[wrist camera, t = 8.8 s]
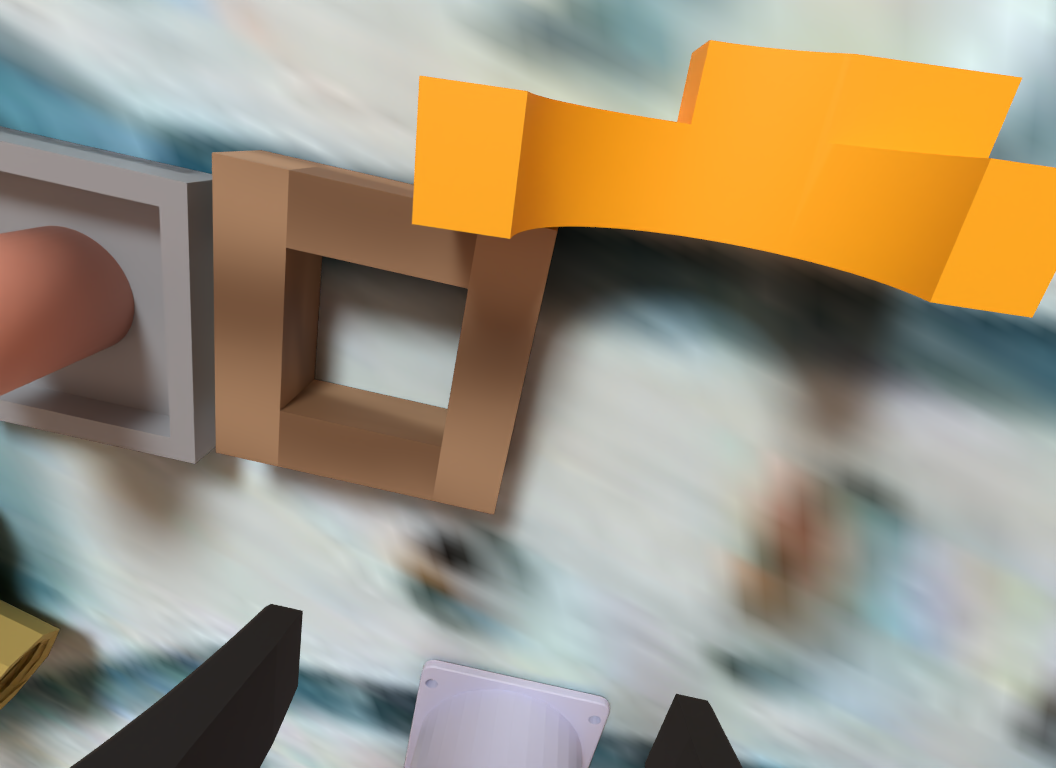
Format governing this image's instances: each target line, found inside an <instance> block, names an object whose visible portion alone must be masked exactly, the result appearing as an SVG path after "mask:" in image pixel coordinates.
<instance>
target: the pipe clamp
mask: <svg viewBox="0 0 1056 768" xmlns="http://www.w3.org/2000/svg"><path fill="white" fill-rule="evenodd" d="M1021 79H1022V78H1021V77H1014V76H1007V75H1000V74H992V73H985V72H978V71H971V70H964V69H957V68H950V67H943V66H936V65H929V64H922V63H915V62H908V61H901V60H894V59H887V58H880V57H872V56H865V55H858V54H843V53H824V52H809V51H796V50H785V49H774V48H765V47H756V46H748V45H740V44H733V43H726V42H719V41H712V40H709V41H708V42H707V43H705V44H704V45H702V46H701V47H700V48H698V49H697V50H696V51H694V52H693V53H692V56H691V60H690V65H689V70H688V74H687V79H686V84H685V88H684V93H683V97H682V102H681V107H680V111H679V116H678V121H677V122H673V121H667V120H660V119H654V118H648V117H642V116H636V115H630V114H624V113H618V112H613V111H607V110H601V109H596V108H591V107H586V106H581V105H576V104H571V103H566V102H561V101H557V100H553V99H549V98H545V97H541V96H538V95H535V94H532V93H530V92H528V91H522V90H515V89H509V88H502V87H495V86H488V85H481V84H474V83H467V82H460V81H453V80H446V79H440V78H433V77H426V76H420V77H419V96H418V115H417V135H416V154H415V173H414V193H413V212H412V224H415V225H422V226H428V227H435V228H442V229H448V230H455V231H462V232H468V233H475V234H481V235H488V236H495V237H501V238H508V239H510V238H511V237H512V236H514V235H515V234H517V233H519V232H523V231H526V230H531V229H536V228H545V227H564V226H580V227H604V228H618V229H629V230H639V231H648V232H656V233H664V234H672V235H679V236H685V237H692V238H698V239H704V240H710V241H716V242H721V243H727V244H732V245H737V246H743V247H748V248H752V249H757V250H762V251H767V252H771V253H776V254H780V255H784V256H789V257H793V258H797V259H801V260H805V261H809V262H813V263H817V264H821V265H824V266H828V267H832V268H835V269H839V270H842V271H846V272H849V273H853V274H856V275H859V276H862V277H865V278H869V279H872V280H875V281H878V282H880V283H883V284H886V285H889V286H892V287H895V288H897V289H900V290H903V291H905V292H908V293H910V294H913V295H915V296H917V297H920V298H922V299H924V300H926V301H928V302H932V303H939V304H945V305H952V306H959V307H965V308H972V309H978V310H985V311H992V312H998V313H1005V314H1012V315H1018V316H1025V317H1031V318H1032V317H1033V315H1034V313H1035V311H1036V309H1037V307H1038V305H1039V303H1040V301H1041V299H1042V297H1043V295H1044V293H1045V291H1046V289H1047V287H1048V285H1049V283H1050V281H1051V279H1052V277H1053V275H1054V273H1055V271H1056V168H1053V167H1046V166H1040V165H1033V164H1026V163H1019V162H1012V161H1005V160H998V159H991V158H988V157H989V155H990V153H991V150H992V148H993V146H994V143H995V141H996V138H997V136H998V134H999V131H1000V129H1001V127H1002V124H1003V122H1004V120H1005V117H1006V115H1007V112H1008V110H1009V108H1010V105H1011V103H1012V101H1013V98H1014V96H1015V94H1016V91H1017V89H1018V86H1019V84H1020V82H1021Z"/></svg>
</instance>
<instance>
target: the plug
mask: <svg viewBox="0 0 1056 768" xmlns="http://www.w3.org/2000/svg"><path fill="white" fill-rule="evenodd" d="M133 317H134V299H133V294H132V290H131V287H130V284H129V282H128V280H127V278H126V276H125V274H124V272H123V270H122V269H121V267H120V266H119V264H118V263H117V262H116V260H115V259H114V258H113V257H112V256H111V254H110V253H109V252H108V251H107V250H106V249H104V248H103V247H102V246H101V245H100V244H99V243H97V242H96V241H94V240H93V239H92V238H90V237H88V236H86V235H85V234H83V233H80V232H78V231H76V230H73V229H70V228H66V227H61V226H42V227H36V228H30V229H24V230H18V231H12V232H7V233H1V234H0V396H1V395H4V394H6V393H8V392H10V391H13V390H15V389H17V388H19V387H21V386H24V385H26V384H28V383H30V382H33V381H35V380H37V379H39V378H42V377H44V376H46V375H48V374H50V373H53V372H55V371H57V370H59V369H62V368H64V367H66V366H68V365H71V364H73V363H75V362H77V361H79V360H82V359H84V358H86V357H88V356H91V355H93V354H95V353H97V352H99V351H102V350H104V349H106V348H108V347H111V346H113V345H115V344H116V343H118V342H119V341H120V340H122V339H123V338H124V337H125V335H126V334H127V333H128V331H129V329H130V327H131V325H132V322H133Z"/></svg>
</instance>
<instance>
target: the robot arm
mask: <svg viewBox="0 0 1056 768" xmlns="http://www.w3.org/2000/svg"><path fill="white" fill-rule="evenodd" d="M302 614H303V611H301V610H296V609H292V608H287V607H283V606H278V605H274V604H270V605H268V606H266V607H265V608H264V609H263V610H262V611H260V612H259V613H258V614H257V615H256V616H255V617H254V618H253V619H252V620H251V621H250V622H249V623H248V624H247V625H245V626H244V627H243V628H242V629H241V630H240V631H239V632H238V633H237V634H236V635H235V636H233V637H232V638H231V639H230V640H229V641H228V642H227V643H226V644H225V645H223V646H222V647H221V648H220V649H219V650H218V651H217V652H215V653H214V654H213V655H212V656H211V657H210V658H209V659H207V660H206V661H205V662H204V663H203V664H202V665H201V666H199V667H198V668H197V669H196V670H195V671H193V672H192V673H191V674H190V675H189V676H187V677H186V678H185V679H184V680H183V681H181V682H180V683H179V684H178V685H177V686H175V687H174V688H173V689H172V690H171V691H170V692H168V693H167V694H166V695H165V696H164V697H162V698H161V699H160V700H159V701H157V702H156V703H155V704H154V705H152V706H151V707H150V708H148V709H147V710H146V711H145V712H143V713H142V714H141V715H139V716H138V717H137V718H136V719H134V720H133V721H132V722H130V723H129V724H128V725H126V726H125V727H124V728H123V729H121V730H120V731H119V732H117V733H116V734H115V735H114V736H112V737H111V738H110V739H108V740H107V741H106V742H104V743H103V744H102V745H100V746H99V747H98V748H96V749H95V750H94V751H92V752H91V753H89V754H88V755H87V756H85V757H84V758H83V759H81V760H80V761H78V762H77V763H76V764H74V765H73V766H71V767H70V768H260V766H261V764H262V763H263V761H264V759H265V757H266V755H267V753H268V752H269V750H270V748H271V746H272V744H273V742H274V740H275V737H276V735H277V733H278V731H279V728H280V726H281V724H282V722H283V719H284V717H285V715H286V713H287V710H288V708H289V705H290V703H291V701H292V698H293V696H294V694H295V691H296V689H297V687H298V674H299V659H300V644H301V629H302ZM431 679H433V680H431ZM609 711H610V709H609V702H608V700H606V699H605V698H603V697H601V696H597V695H592V694H588V693H583V692H579V691H574V690H570V689H565V688H561V687H556V686H552V685H547V684H543V683H538V682H534V681H529V680H525V679H520V678H516V677H511V676H507V675H502V674H498V673H493V672H489V671H484V670H479V669H475V668H470V667H466V666H461V665H457V664H452V663H448V662H443V661H439V660H430V661H427V662H426V663H425V664H424V666H423V670H422V674H421V679H420V684H419V690H418V695H417V700H416V706H415V711H414V716H413V722H412V727H411V732H410V738H409V743H408V748H407V754H406V759H405V764H404V768H588V767H589V764H590V762H591V759H592V757H593V754H594V752H595V749H596V746H597V744H598V741H599V739H600V736H601V734H602V731H603V728H604V726H605V723H606V721H607V718H608V715H609ZM645 768H742V766H741V764H740V762H739V760H738V758H737V756H736V754H735V752H734V750H733V748H732V746H731V744H730V742H729V740H728V739H727V737H726V735H725V733H724V731H723V729H722V727H721V725H720V723H719V721H718V719H717V717H716V715H715V713H714V711H713V709H712V707H711V705H710V704H709V702H708V701H707V700H702V699H698V698H693V697H689V696H684V695H679V694H676V695H675V697H674V700H673V702H672V704H671V706H670V709H669V711H668V713H667V715H666V717H665V720H664V722H663V724H662V726H661V729H660V731H659V733H658V735H657V738H656V740H655V742H654V744H653V747H652V749H651V751H650V753H649V755H648V758H647V760H646V762H645Z"/></svg>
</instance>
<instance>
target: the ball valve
mask: <svg viewBox="0 0 1056 768" xmlns="http://www.w3.org/2000/svg"><path fill="white" fill-rule="evenodd" d="M59 630H60V629H59V628H56V627H54V626H52V625H50V624H48V623H46V622H44V621H42V620H40V619H38V618H36V617H34V616H32V615H30V614H28V613H26V612H24V611H22V610H20V609H18V608H16V607H14V606H12V605H10V604H8V603H6V602H4V601H2V600H0V710H1V709H2V708H3V707H4V706H5V705H6V704H7V703H8V702H9V701H10V700H11V699H12V698H13V697H14V696H15V695H16V694H17V692H18V691H19V690H20V689H21V688H22V686H23V685H24V684H25V683H26V682H27V680H28V679H29V678H30V677H31V676H32V675H33V673H34V672H35V671H36V670H37V669H38V667H39V666H40V665H41V664H42V663H43V661H44V660H45V659H46V658H47V657H48V655H49V653H50V650H51V648H52V646H53V644H54V642H55V639H56V637H57V635H58V633H59Z"/></svg>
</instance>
